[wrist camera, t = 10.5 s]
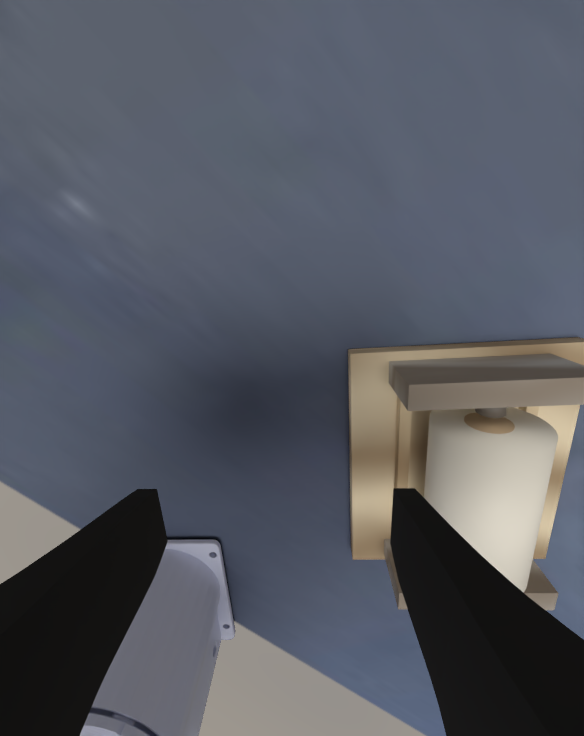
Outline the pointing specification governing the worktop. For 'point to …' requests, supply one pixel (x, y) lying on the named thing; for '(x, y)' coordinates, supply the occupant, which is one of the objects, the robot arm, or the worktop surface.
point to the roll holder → (445, 392)
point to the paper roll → (491, 482)
